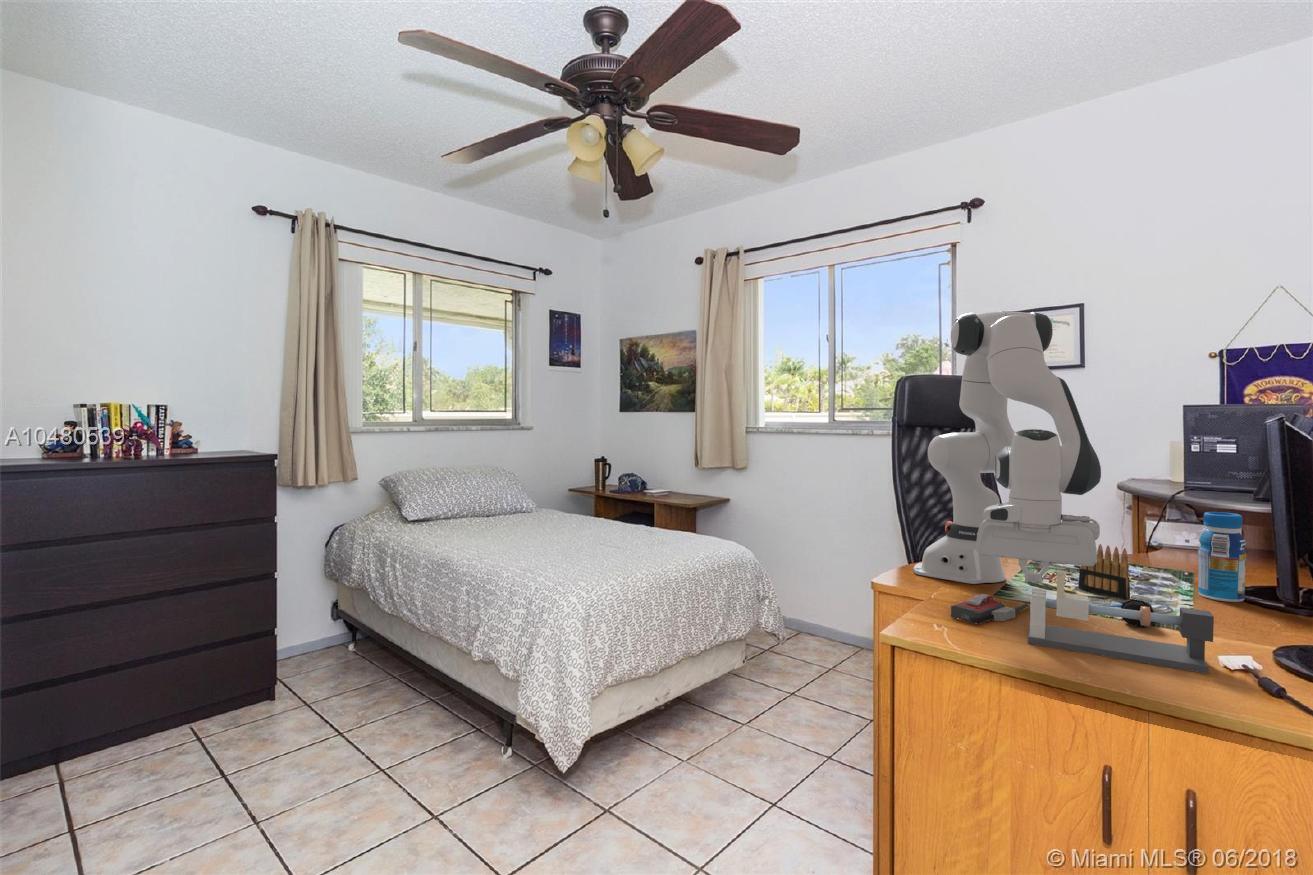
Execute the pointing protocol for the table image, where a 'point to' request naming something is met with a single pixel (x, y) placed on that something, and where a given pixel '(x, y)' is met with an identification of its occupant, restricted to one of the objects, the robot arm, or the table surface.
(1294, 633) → the table surface
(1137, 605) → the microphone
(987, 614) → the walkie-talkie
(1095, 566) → the ammunition clip
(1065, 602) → the grey l-shaped bracket
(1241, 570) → the blue supplement bottle
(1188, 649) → the cord rig
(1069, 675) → the table surface
